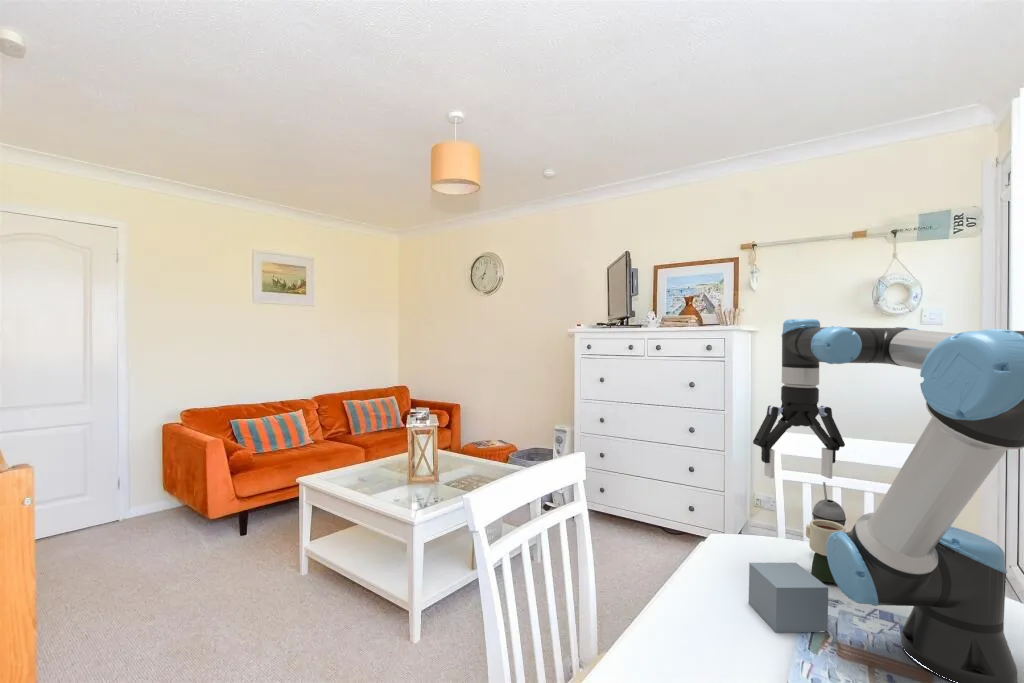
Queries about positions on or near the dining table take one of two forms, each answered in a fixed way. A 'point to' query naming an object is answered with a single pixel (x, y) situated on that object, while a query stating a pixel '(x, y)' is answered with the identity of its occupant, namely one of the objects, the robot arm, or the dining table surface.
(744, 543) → the dining table surface
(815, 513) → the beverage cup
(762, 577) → the grey rectangular box
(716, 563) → the dining table surface
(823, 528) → the character mug
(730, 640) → the dining table surface
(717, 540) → the dining table surface
